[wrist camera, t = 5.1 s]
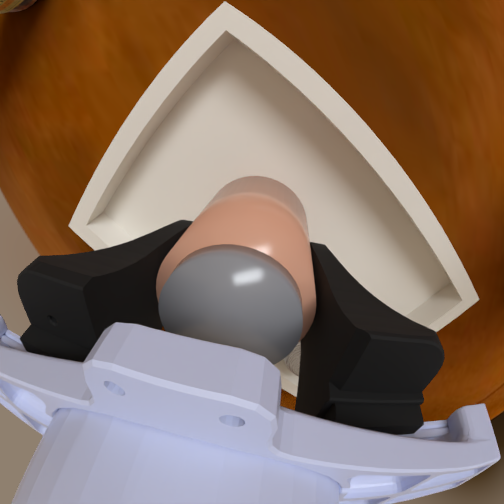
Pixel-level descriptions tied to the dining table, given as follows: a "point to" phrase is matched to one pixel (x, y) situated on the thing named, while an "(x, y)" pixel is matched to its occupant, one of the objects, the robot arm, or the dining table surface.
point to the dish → (273, 168)
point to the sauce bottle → (15, 5)
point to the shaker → (242, 271)
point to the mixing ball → (294, 360)
